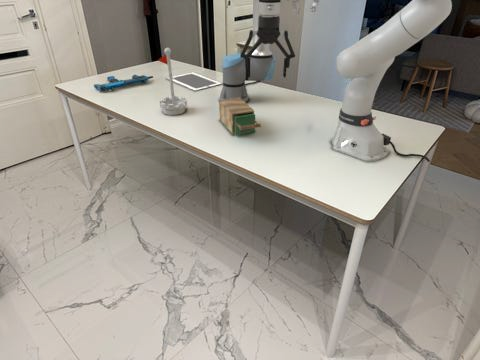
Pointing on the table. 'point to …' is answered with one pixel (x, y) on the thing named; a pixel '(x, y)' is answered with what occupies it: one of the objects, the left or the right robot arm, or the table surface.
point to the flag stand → (174, 103)
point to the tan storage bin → (232, 111)
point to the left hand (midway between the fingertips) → (266, 76)
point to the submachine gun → (121, 82)
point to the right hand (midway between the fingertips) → (304, 12)
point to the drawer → (245, 123)
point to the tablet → (194, 81)
